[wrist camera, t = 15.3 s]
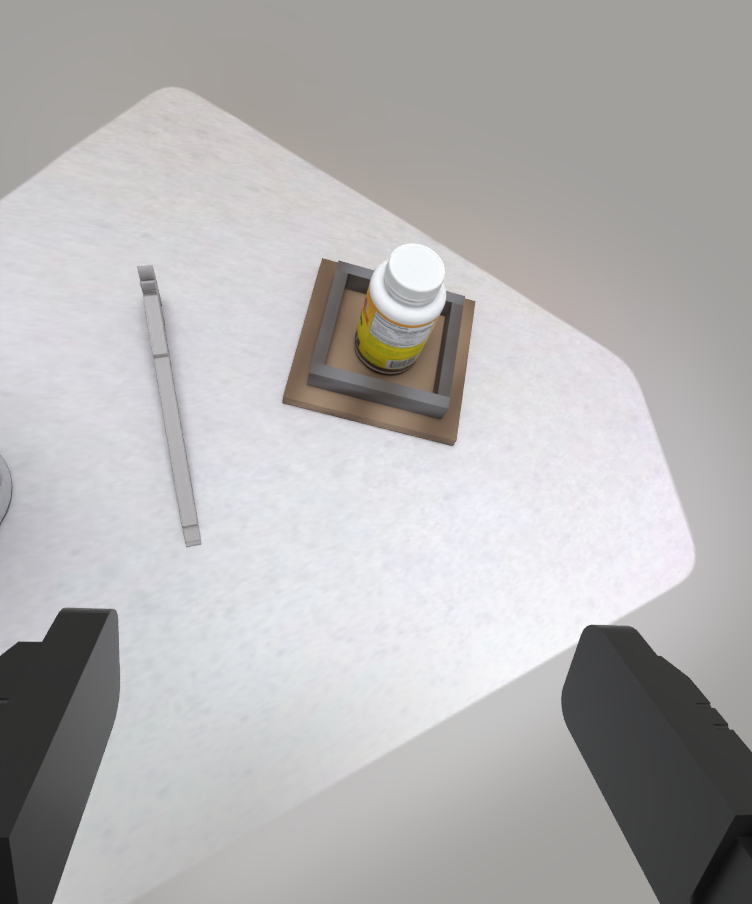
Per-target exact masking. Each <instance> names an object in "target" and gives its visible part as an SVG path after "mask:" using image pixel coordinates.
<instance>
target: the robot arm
mask: <svg viewBox="0 0 752 904" xmlns="http://www.w3.org/2000/svg"><path fill="white" fill-rule="evenodd" d="M11 489H12V483H11V477H10V472H9V470H8V467H7V465H6V463H5V461H4V459H3V458H2V457H1V456H0V522H1V520H2V519H3V517H4V515H5V514H6V511H7V508H8V505H9V502H10V499H11ZM119 693H120V664H119V632H118V615H117V611H116V610H115V609H92V608H63V609H62V610H61V611H60V612H59V613H58V615H57V617H56V618H55V620H54V622H53V624H52V625H51V627H50V629H49V631H48V632H47V634H46V636H45V638H44V639H43V641H42V642H17V643H16V644H15V645H14V646H12V647H11V648H10V649H9V650H7V651H6V652H5V653H3V654H2V655H1V656H0V904H52V902H53V899H54V896H55V894H56V891H57V888H58V885H59V882H60V879H61V876H62V873H63V870H64V867H65V864H66V862H67V859H68V856H69V853H70V850H71V847H72V844H73V841H74V838H75V835H76V833H77V830H78V827H79V824H80V821H81V818H82V815H83V812H84V809H85V806H86V803H87V801H88V798H89V795H90V792H91V789H92V786H93V783H94V780H95V777H96V774H97V771H98V769H99V766H100V763H101V760H102V757H103V754H104V751H105V748H106V745H107V742H108V739H109V737H110V734H111V731H112V728H113V725H114V721H115V717H116V713H117V708H118V702H119ZM561 698H562V699H561V701H562V712H563V716H564V720H565V723H566V725H567V727H568V729H569V731H570V733H571V735H572V737H573V739H574V741H575V743H576V745H577V747H578V749H579V750H580V752H581V754H582V756H583V758H584V760H585V762H586V764H587V766H588V768H589V769H590V771H591V773H592V775H593V777H594V779H595V781H596V783H597V785H598V787H599V788H600V790H601V792H602V794H603V796H604V798H605V800H606V802H607V804H608V806H609V807H610V809H611V811H612V813H613V815H614V817H615V819H616V821H617V823H618V825H619V826H620V828H621V830H622V832H623V834H624V836H625V838H626V840H627V842H628V844H629V845H630V847H631V849H632V851H633V853H634V855H635V857H636V859H637V861H638V863H639V865H640V866H641V868H642V870H643V872H644V874H645V876H646V878H647V880H648V882H649V883H650V885H651V887H652V889H653V891H654V893H655V895H656V897H657V899H658V901H659V902H660V904H752V752H751V751H750V750H749V748H748V747H747V746H746V745H745V744H744V742H743V741H742V740H741V739H740V738H739V736H738V735H737V734H736V733H735V732H734V730H729V728H728V723H727V722H726V721H725V720H724V719H723V717H722V716H721V715H720V714H719V713H718V712H717V710H716V709H715V708H711V706H710V702H709V701H708V699H707V698H706V697H705V696H704V695H703V694H702V692H701V691H700V690H699V689H698V688H697V686H696V685H695V684H694V683H693V682H692V680H691V679H690V678H689V677H688V676H686V675H685V674H684V673H682V672H681V671H680V670H679V669H677V668H676V667H674V666H673V665H672V664H671V663H669V662H668V661H667V660H666V659H664V658H663V657H662V656H657V655H656V653H655V652H654V651H653V650H652V648H651V647H650V646H649V645H648V644H647V642H646V641H645V640H644V639H643V637H642V636H641V635H640V634H639V632H638V631H637V630H636V629H634V628H633V627H630V626H615V625H589V626H587V627H586V628H585V629H584V630H583V632H582V634H581V637H580V639H579V642H578V645H577V648H576V652H575V654H574V657H573V660H572V663H571V666H570V669H569V672H568V675H567V677H566V681H565V683H564V686H563V690H562V697H561Z"/></svg>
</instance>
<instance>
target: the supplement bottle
mask: <svg viewBox="0 0 752 904" xmlns="http://www.w3.org/2000/svg"><path fill="white" fill-rule="evenodd" d="M444 278H445V266H444V263H443V261H442V260H441V258H440V257H439V256H438V254H437V253H435V252H434V251H433V250H431V249H430V248H428V247H426V246H423V245H420V244H405V245H402V246H399V247H398V248H396V249H395V250H394V251H393V252H392V254H391V255H390V258H389V259H388V260H386V261H384V262H383V263H381V264H380V265H379V266H378V267H377V268H376V269H375V271H374V273H373V275H372V277H371V280H370V284H369V287H368V291H367V294H366V297H365V301H364V305H363V308H362V311H361V315H360V319H359V322H358V326H357V329H356V333H355V348H356V351H357V354H358V356H359V357H360V359H361V360H362V361H363V362H364V363H365V364H366V365H367V366H368V367H370V368H371V369H373V370H375V371H378V372H381V373H385V374H396V373H400V372H403V371H405V370H407V369H409V368H410V367H411V366H412V365H413V364H414V363H415V362H416V360H417V359H418V357H419V355H420V353H421V351H422V349H423V347H424V345H425V343H426V341H427V339H428V337H429V335H430V333H431V331H432V329H433V327H434V325H435V323H436V321H437V319H438V317H439V315H440V313H441V311H442V309H443V307H444V305H445V301H446V288H445V284H444V282H443V281H444Z"/></svg>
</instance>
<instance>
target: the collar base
mask: <svg viewBox="0 0 752 904" xmlns="http://www.w3.org/2000/svg"><path fill="white" fill-rule="evenodd" d="M373 273H374V270H370V269H367V268H363V267H360V266H356V265H353V264H349V263H345V262H342V261H339V262H334V261H330V260H327V259H323V258H322V261H321V265H320V268H319V272H318V275H317V279H316V282H315V286H314V289H313V293H312V297H311V300H310V304H309V307H308V311H307V314H306V318H305V321H304V325H303V328H302V332H301V335H300V339H299V343H298V346H297V350H296V353H295V357H294V360H293V364H292V367H291V371H290V374H289V378H288V381H287V385H286V389H285V392H284V396H283V403H286V404H290V405H294V406H297V407H301V408H305V409H309V410H313V411H317V412H321V413H325V414H329V415H333V416H337V417H341V418H345V419H349V420H353V421H357V422H361V423H365V424H369V425H373V426H377V427H381V428H384V429H388V430H392V431H396V432H400V433H404V434H408V435H412V436H416V437H420V438H424V439H428V440H432V441H436V442H440V443H444V444H448V445H452V446H453V444H454V443H455V442H456V440H457V432H458V425H459V418H460V410H461V403H462V395H463V388H464V381H465V373H466V366H467V359H468V351H469V344H470V337H471V329H472V322H473V314H474V307H475V301H472V300H469V299H465V296H462V295H459V294H455V293H451V292H448V291H446V301H445V305H444V307H443V309H442V311H441V313H440V315H439V317H438V319H437V321H436V323H435V325H434V327H433V329H432V331H431V333H430V335H429V337H428V339H427V341H426V343H425V345H424V347H423V349H422V351H421V353H420V355H419V357H418V359H417V360H416V362H415V363H414V364H413V365H412V366H411V367H410V368H409V369H407V370H405V371H403V372H400V373H396V374H385V373H381V372H378V371H375V370H373V369H371V368H370V367H368V366H367V365H366V364H365V363H364V362H363V361H362V360H361V359H360V357H359V356H358V354H357V351H356V348H355V333H356V329H357V326H358V322H359V319H360V315H361V311H362V308H363V305H364V301H365V297H366V294H367V291H368V287H369V284H370V280H371V277H372V275H373Z"/></svg>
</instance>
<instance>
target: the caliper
mask: <svg viewBox="0 0 752 904" xmlns="http://www.w3.org/2000/svg"><path fill="white" fill-rule="evenodd" d="M137 269H138V273H139V277H140V285H141V288H142V292H143V299H144V305H145V311H146V317H147V322H148V328H149V334H150V340H151V346H152V352H153V357H154V361H155V367H156V373H157V379H158V385H159V391H160V397H161V403H162V409H163V415H164V421H165V427H166V433H167V439H168V444H169V450H170V456H171V462H172V468H173V474H174V480H175V486H176V492H177V498H178V504H179V510H180V516H181V521H182V527H183V530H184V536H185V542H186V547H189V546H194V545H199V544H201V540H200V534H199V528H198V521H197V515H196V509H195V503H194V498H193V492H192V486H191V480H190V474H189V469H188V463H187V457H186V451H185V446H184V440H183V434H182V428H181V422H180V417H179V411H178V405H177V399H176V393H175V388H174V382H173V376H172V370H171V362H170V357H169V351H168V345H167V339H166V334H165V329H164V325H165V321H164V317H163V313H162V309H161V306H162V304H161V298H160V294H159V290H158V285H157V281H156V277H155V273H154V269H153V266H152V265H148V266H137Z"/></svg>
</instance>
